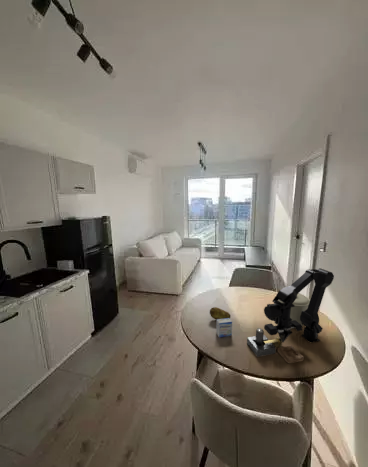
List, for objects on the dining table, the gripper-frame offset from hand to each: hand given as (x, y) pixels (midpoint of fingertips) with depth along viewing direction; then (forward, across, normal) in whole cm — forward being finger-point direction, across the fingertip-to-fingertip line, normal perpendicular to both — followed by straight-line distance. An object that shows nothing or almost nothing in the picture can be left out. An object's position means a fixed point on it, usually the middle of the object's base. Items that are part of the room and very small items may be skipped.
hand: (282, 342), depth 112 cm
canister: (+2, -19, -16) cm, 25 cm away
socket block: (+2, +12, 0) cm, 13 cm away
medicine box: (+2, +26, -15) cm, 30 cm away
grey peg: (+2, +13, 0) cm, 13 cm away
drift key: (+2, +6, 0) cm, 6 cm away
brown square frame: (+2, +1, +8) cm, 8 cm away
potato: (+2, +23, -29) cm, 37 cm away
